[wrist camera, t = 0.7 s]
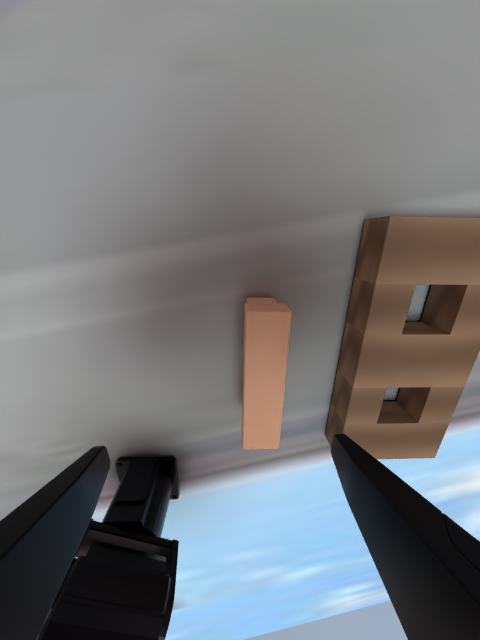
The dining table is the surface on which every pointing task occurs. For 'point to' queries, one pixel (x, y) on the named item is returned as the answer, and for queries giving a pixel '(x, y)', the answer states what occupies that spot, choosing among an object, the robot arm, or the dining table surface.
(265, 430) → the tall terracotta pillar
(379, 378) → the brown slotted board
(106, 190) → the dining table surface
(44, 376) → the dining table surface
